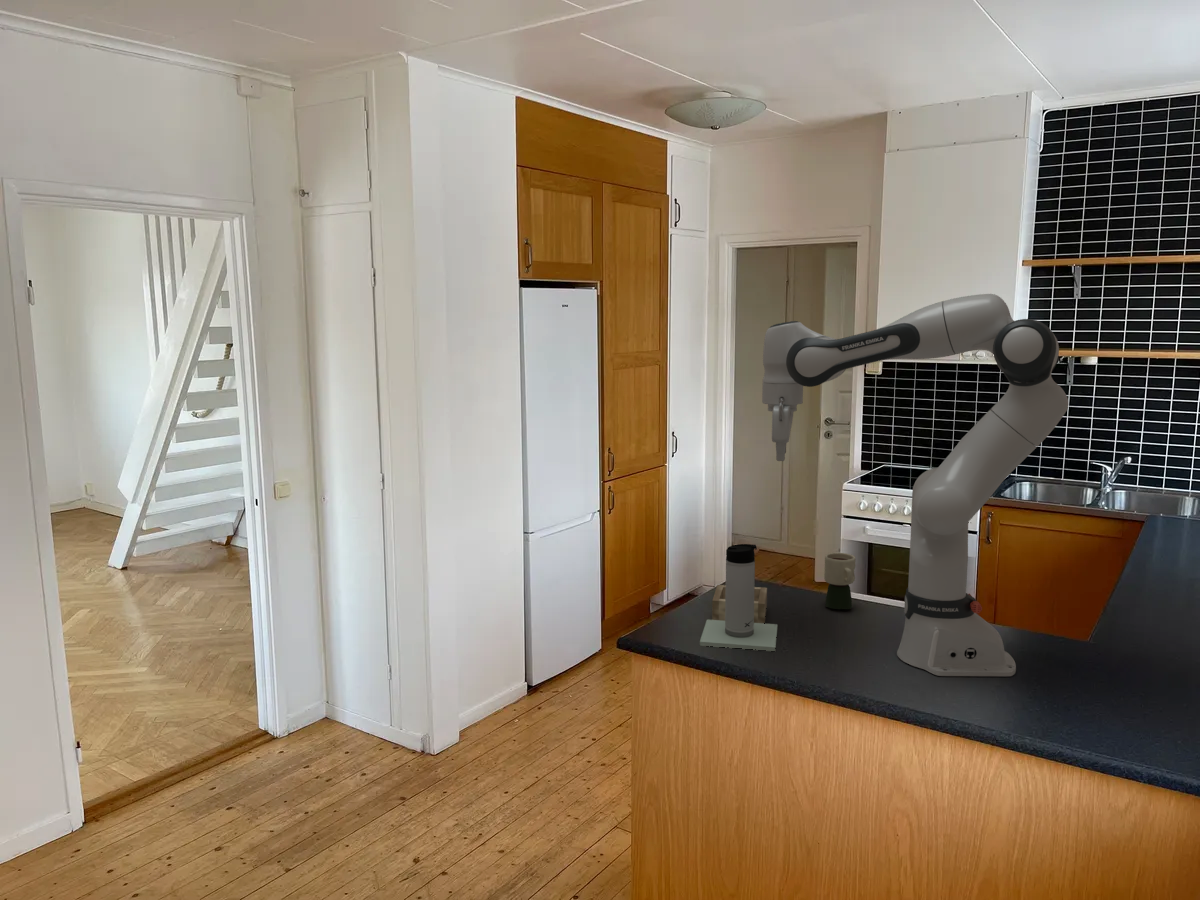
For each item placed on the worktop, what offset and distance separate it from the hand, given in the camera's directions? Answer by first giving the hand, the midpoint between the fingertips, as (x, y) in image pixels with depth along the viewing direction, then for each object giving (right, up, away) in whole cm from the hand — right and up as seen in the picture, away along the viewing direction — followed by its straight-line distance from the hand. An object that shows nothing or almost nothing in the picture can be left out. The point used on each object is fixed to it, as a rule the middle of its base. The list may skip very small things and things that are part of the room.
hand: (781, 457), depth 195 cm
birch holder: (-7, -38, +13) cm, 40 cm away
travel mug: (-10, -39, -2) cm, 40 cm away
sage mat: (-10, -40, -2) cm, 41 cm away
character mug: (+17, -37, +16) cm, 44 cm away
